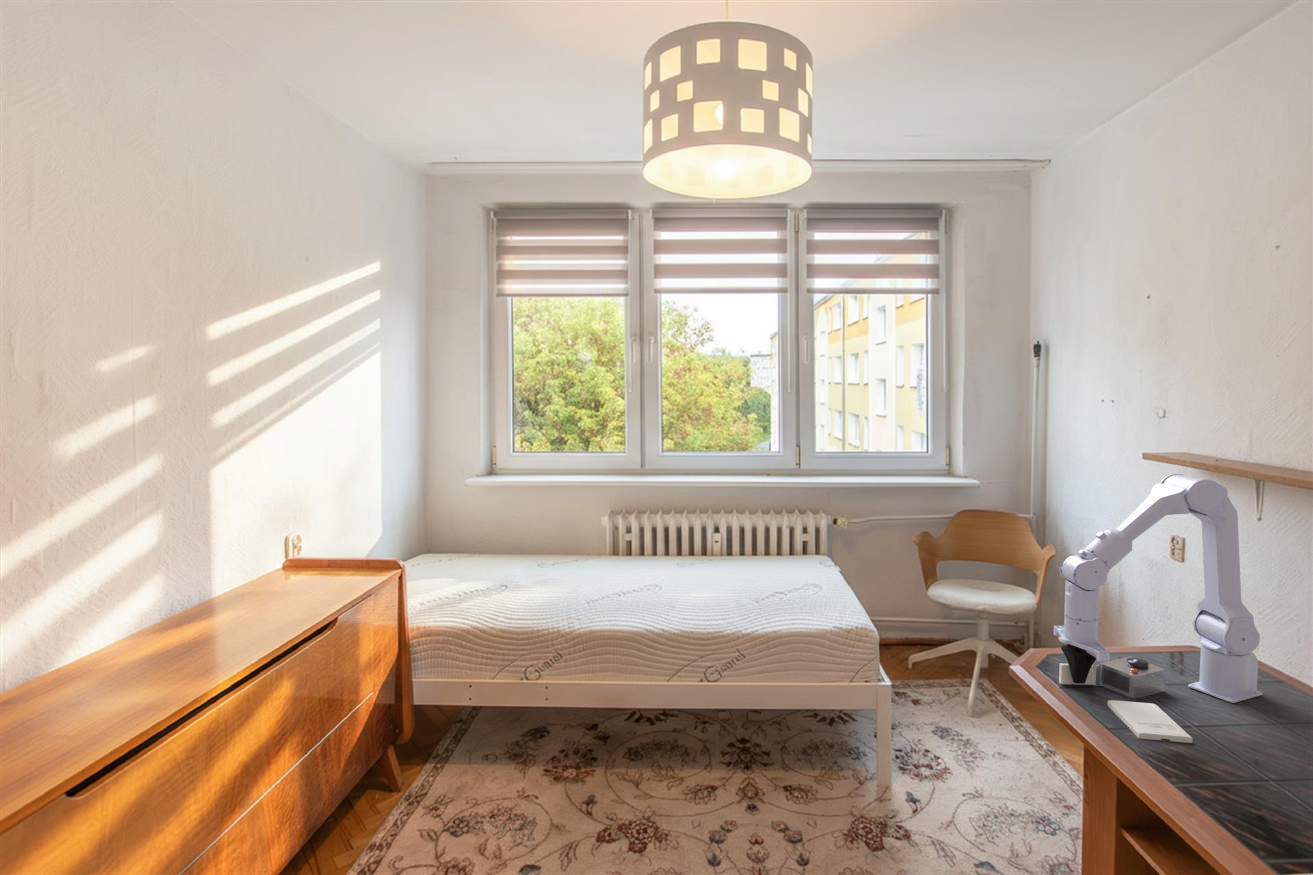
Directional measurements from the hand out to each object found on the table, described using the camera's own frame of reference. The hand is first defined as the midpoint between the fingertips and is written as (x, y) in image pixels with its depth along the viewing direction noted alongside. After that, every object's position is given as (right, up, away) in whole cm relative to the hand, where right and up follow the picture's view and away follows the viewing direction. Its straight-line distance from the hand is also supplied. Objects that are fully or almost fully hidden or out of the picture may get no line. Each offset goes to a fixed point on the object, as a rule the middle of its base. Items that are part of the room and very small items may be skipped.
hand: (1079, 682), depth 137 cm
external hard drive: (+3, -3, -14) cm, 15 cm away
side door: (+1, -1, +1) cm, 2 cm away
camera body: (+10, -1, 0) cm, 11 cm away
